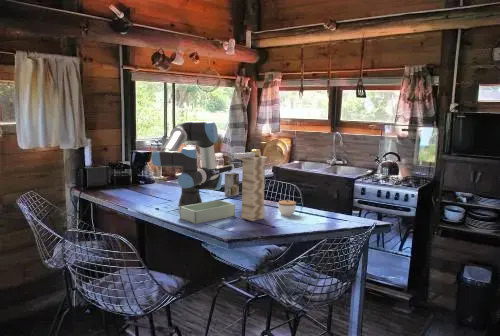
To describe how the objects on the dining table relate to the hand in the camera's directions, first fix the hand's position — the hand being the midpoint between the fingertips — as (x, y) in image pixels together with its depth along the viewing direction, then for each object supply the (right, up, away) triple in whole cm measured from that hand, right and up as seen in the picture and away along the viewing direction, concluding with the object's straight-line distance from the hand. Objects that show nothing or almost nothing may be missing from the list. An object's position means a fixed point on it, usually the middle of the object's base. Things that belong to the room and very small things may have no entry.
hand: (223, 168), depth 230 cm
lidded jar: (+37, -28, +20) cm, 51 cm away
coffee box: (+1, -20, +74) cm, 77 cm away
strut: (+13, +6, +2) cm, 15 cm away
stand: (+16, -29, +11) cm, 35 cm away
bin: (-10, -28, +11) cm, 32 cm away
